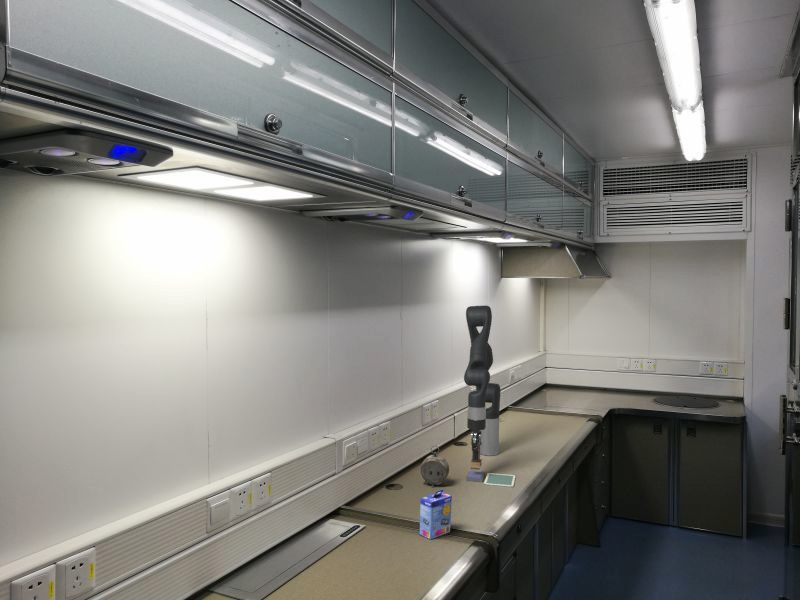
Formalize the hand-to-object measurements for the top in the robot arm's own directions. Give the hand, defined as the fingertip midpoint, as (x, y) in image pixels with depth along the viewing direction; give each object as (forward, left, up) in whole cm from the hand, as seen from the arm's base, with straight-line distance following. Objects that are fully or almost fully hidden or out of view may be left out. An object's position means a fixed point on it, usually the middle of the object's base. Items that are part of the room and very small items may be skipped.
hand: (476, 458), depth 261 cm
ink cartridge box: (+61, -6, -8) cm, 62 cm away
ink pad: (0, 0, -8) cm, 8 cm away
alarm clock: (+15, -15, -8) cm, 22 cm away
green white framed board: (0, +10, -8) cm, 13 cm away
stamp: (0, 0, -4) cm, 4 cm away
